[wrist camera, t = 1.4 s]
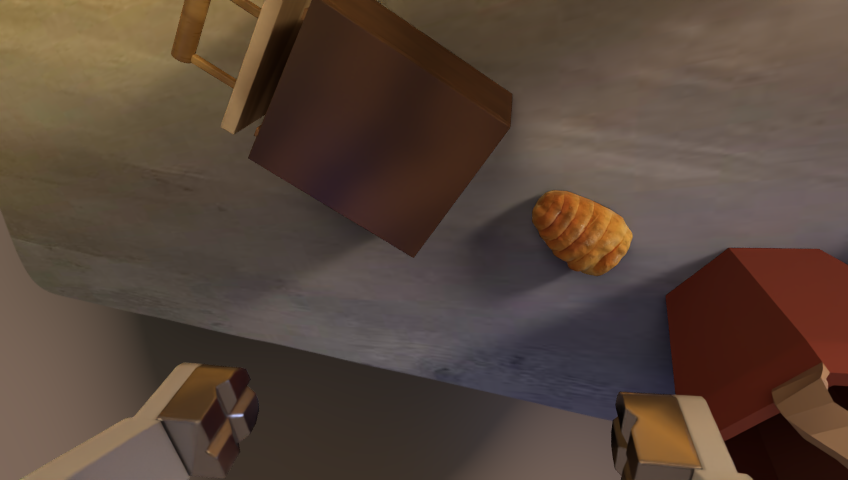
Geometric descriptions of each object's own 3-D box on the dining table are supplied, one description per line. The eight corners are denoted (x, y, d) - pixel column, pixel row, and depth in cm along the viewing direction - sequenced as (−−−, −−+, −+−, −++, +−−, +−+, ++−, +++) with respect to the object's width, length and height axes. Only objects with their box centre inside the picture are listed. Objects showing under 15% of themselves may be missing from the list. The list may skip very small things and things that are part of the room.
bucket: (627, 227, 46) (718, 464, 25) (914, 177, 39) (1374, 441, 18) (651, 402, 57) (727, 669, 36) (877, 386, 50) (1137, 702, 29)
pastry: (515, 219, 47) (515, 239, 44) (562, 169, 44) (565, 186, 41) (587, 270, 49) (592, 292, 46) (638, 225, 45) (647, 245, 42)
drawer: (206, 67, 44) (153, 86, 38) (249, -74, 37) (194, -79, 31) (394, 185, 47) (375, 221, 40) (465, 73, 40) (455, 96, 34)
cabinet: (294, 123, 46) (247, 158, 38) (355, -14, 39) (313, -5, 31) (430, 208, 48) (413, 258, 41) (512, 93, 41) (510, 127, 33)
